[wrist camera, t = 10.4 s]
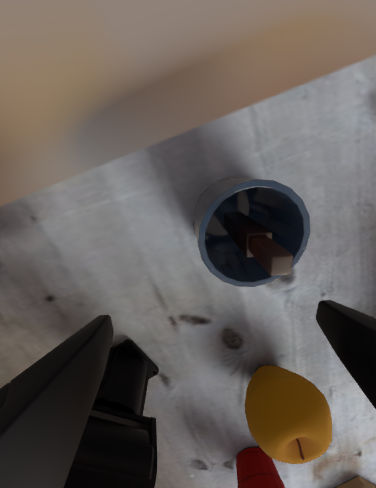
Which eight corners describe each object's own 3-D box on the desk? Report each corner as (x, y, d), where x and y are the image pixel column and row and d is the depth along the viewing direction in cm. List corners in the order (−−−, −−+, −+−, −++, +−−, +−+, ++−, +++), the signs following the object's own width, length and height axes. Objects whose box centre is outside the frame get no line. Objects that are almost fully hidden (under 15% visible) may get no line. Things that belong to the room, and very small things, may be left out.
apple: (300, 340, 25) (359, 423, 17) (300, 387, 28) (351, 477, 20) (231, 353, 26) (255, 440, 17) (238, 398, 29) (262, 491, 20)
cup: (282, 229, 20) (325, 253, 14) (217, 266, 22) (231, 303, 15) (248, 160, 18) (283, 154, 12) (178, 206, 19) (176, 222, 13)
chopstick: (240, 211, 19) (299, 249, 10) (240, 227, 20) (295, 278, 10) (224, 213, 19) (266, 252, 10) (224, 229, 20) (264, 281, 10)
